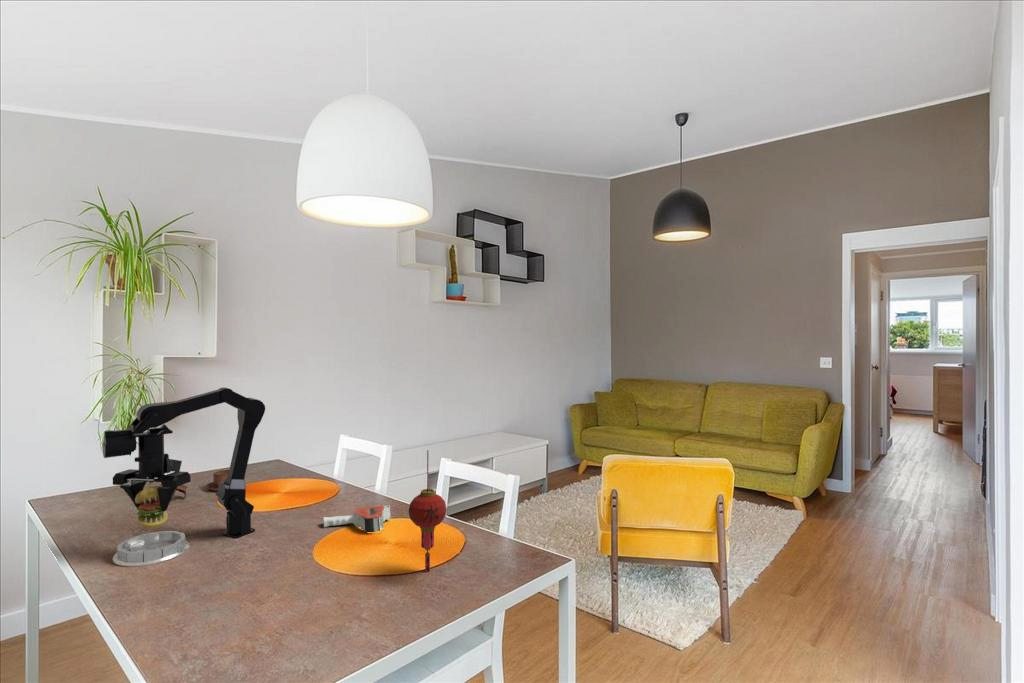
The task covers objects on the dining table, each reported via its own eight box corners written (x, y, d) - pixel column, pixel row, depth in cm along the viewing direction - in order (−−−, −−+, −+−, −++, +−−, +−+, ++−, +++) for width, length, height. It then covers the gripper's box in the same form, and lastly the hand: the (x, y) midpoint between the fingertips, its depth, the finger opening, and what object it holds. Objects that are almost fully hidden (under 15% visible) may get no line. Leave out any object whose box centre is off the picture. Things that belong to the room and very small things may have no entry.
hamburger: (140, 532, 140) (139, 486, 140) (131, 526, 145) (130, 481, 145) (173, 524, 146) (173, 480, 146) (164, 518, 151) (163, 475, 150)
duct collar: (203, 547, 150) (203, 535, 150) (138, 571, 134) (138, 559, 134) (164, 536, 157) (164, 526, 157) (98, 559, 142) (98, 547, 142)
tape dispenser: (318, 531, 167) (356, 544, 154) (317, 514, 167) (355, 525, 154) (367, 514, 180) (406, 524, 167) (366, 498, 180) (405, 506, 167)
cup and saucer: (210, 485, 210) (210, 469, 209) (244, 483, 213) (244, 467, 213) (202, 494, 198) (202, 477, 198) (239, 491, 202) (239, 475, 202)
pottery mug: (149, 501, 191) (162, 478, 194) (178, 510, 195) (190, 487, 198) (149, 501, 181) (163, 477, 184) (179, 510, 185) (192, 486, 188)
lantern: (405, 565, 138) (405, 447, 138) (441, 560, 142) (442, 445, 141) (412, 582, 129) (412, 455, 129) (450, 575, 133) (451, 452, 132)
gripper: (204, 446, 152) (205, 502, 152) (144, 444, 154) (145, 499, 155) (174, 455, 141) (175, 516, 141) (110, 453, 143) (111, 512, 144)
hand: (152, 510), depth 146 cm, fingers closed on hamburger, 7 cm apart
